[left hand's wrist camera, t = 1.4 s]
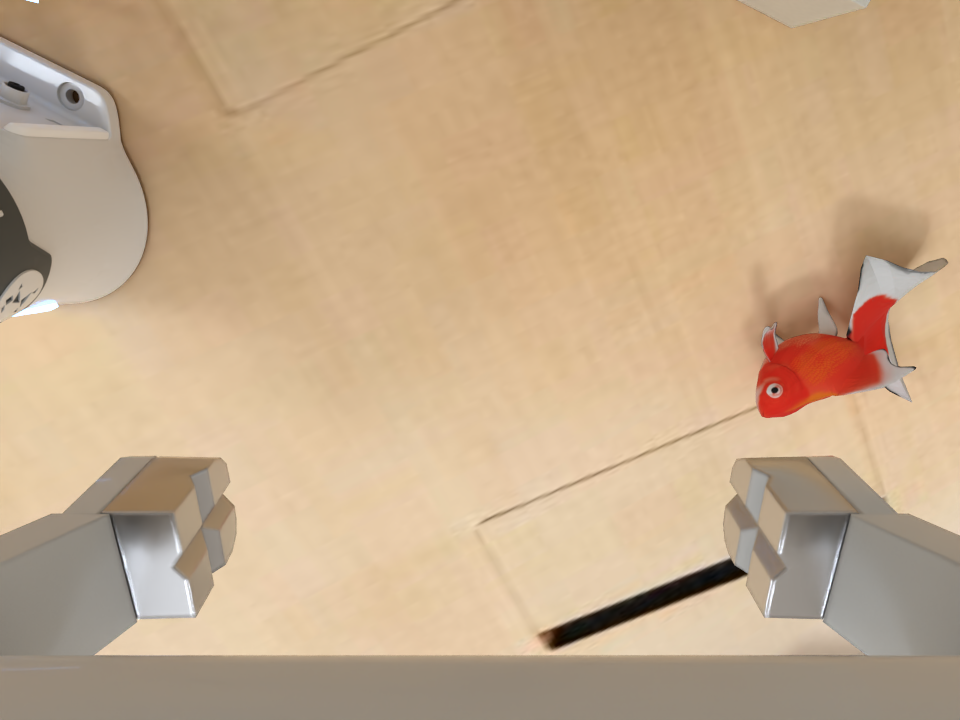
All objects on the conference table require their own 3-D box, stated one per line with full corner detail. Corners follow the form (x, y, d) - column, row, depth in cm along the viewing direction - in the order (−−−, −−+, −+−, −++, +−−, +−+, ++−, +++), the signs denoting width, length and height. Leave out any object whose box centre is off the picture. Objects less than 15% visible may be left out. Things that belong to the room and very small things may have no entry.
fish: (707, 291, 41) (848, 362, 34) (866, 193, 46) (1022, 237, 38) (708, 405, 48) (825, 484, 41) (846, 310, 52) (975, 366, 45)
